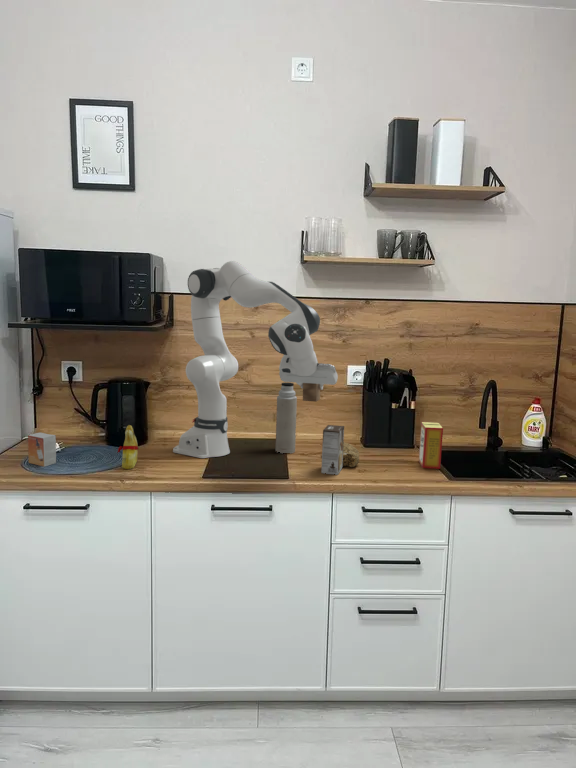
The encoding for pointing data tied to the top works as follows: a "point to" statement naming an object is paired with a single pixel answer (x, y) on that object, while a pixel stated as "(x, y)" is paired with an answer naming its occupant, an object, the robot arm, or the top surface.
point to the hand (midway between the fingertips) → (312, 387)
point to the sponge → (350, 455)
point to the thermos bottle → (286, 419)
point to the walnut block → (311, 392)
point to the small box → (42, 449)
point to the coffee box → (332, 449)
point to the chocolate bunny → (129, 449)
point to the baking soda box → (430, 445)
